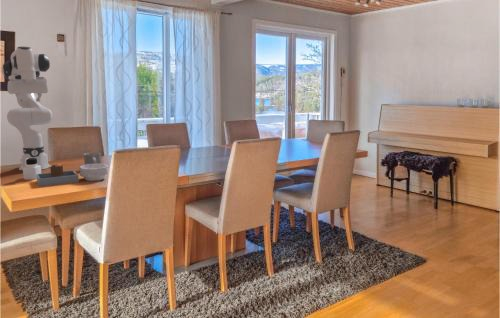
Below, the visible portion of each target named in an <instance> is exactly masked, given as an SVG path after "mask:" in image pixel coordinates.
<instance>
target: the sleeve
mask: <svg viewBox="0 0 500 318" xmlns="http://www.w3.org/2000/svg"><path fill="white" fill-rule="evenodd" d="M55 165H56V164H53V165H51V166H50V167H49V169H50V173H51V178H52V177H61V176H63V171H64V168H63V166H64V165H63V164H61V166H58V167H55Z"/></svg>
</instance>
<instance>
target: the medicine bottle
mask: <svg viewBox="0 0 500 318" xmlns="http://www.w3.org/2000/svg"><path fill="white" fill-rule="evenodd" d="M25 164H26V167H24V168H23V170H22V175H23V180H37V177H36V174H42V169H41V166H40V165H37V159H36V158H27V159H25Z"/></svg>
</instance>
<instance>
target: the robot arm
mask: <svg viewBox="0 0 500 318" xmlns="http://www.w3.org/2000/svg"><path fill="white" fill-rule="evenodd" d="M50 66H51V62H50V58H49V57H48V56H47V55H46V54H45V53H34V51H33V48H32V47H29V46H18V47H16V50H13V52H11V55H10V61H9V60H7V61H5V62H4V63H3V64H2V66H1V73H2V75H3V77H4V79H6V80H8V82H7V93H8V94H9V95H10V94H11V95H14V94H15V98H16V101H17V105H19V107H17V108H12V109H10V110H9V111H8V112H7V114H6V119H7V120H6V121H8V123H9V124H10V125H11V126H13V127H15V128H16V130H18V132H19V133H20V134H21V139H22V143H23V144H22V145H23V147H22V152H23V153H22V154H23V155H21V157H20V165H21V166H20V167H19V168H18V171H23V168H24V167H26V164H25V159H27V158H36V159H37V165H40V166H41V170H46V169H48V168H49V169H50V166H52V165H51V164H49V161H48V160H49V159H48V155H47V153H45V147H44V143H43V135H42V133H40V131H37V130H34V129H32V128H31V126H41V125H47V124H51V122H52V121H53V118H54V114H53V112H52V110H51V109H50V108H48V107H46V106H44V105H42V104H41V103H40V102H41V98H42V94H47V93H48V92H49V89H48V84H47V82H48V81H47V79H46V77H44V76H41V72H43V73H44V72H47V71H49V70H50Z"/></svg>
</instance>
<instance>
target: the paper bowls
mask: <svg viewBox="0 0 500 318" xmlns="http://www.w3.org/2000/svg"><path fill="white" fill-rule="evenodd" d="M108 174H109V165H108V164H105V163H101V164H87V165H85V164H82V165H80V166H79V176H81V177H83V179H84V180H85V181H89V182H92V181H96V182H97V181H101V180H104V179H105V177H106V176H107V175H108Z"/></svg>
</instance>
